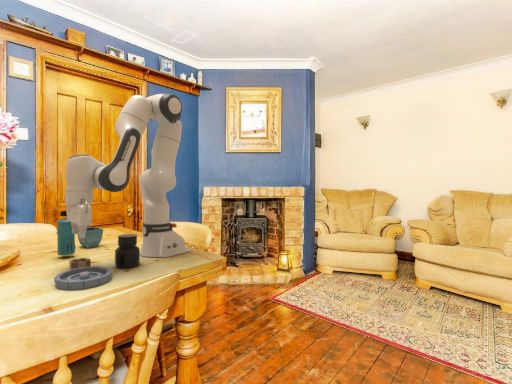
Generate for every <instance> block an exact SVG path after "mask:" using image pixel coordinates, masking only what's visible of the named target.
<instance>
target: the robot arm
mask: <svg viewBox="0 0 512 384" xmlns="http://www.w3.org/2000/svg"><path fill="white" fill-rule="evenodd" d="M182 111H183V105H182V102H181V99H180V97H179V96H178V95H176V94H173V93H157V94H153V95H147V96H143V95H139V94H134V95H132V96H131V97H130V98H129V99H128V100H127V102H126V103H125V104H124V105H123V107H122V109H121V110H120V113H119V114H118V115H117V119H116V121H115V125H114V131H115V133H116V134H117V136H118V138H119V143H118V147H117V149H116V152H115V154H114V157H113V159H112V160H111V162H109V163H108V164H106V163H103V162H102V161H99V160H97V159H96V158H94V157H93V155H90V154H78V155H76V154H75V155H72V156H70V157H68V159H67V161H66V167H65V181H66V186H65V190H64V198H63V199H64V204H65V207H66V209H65V211H66V212H67V216H66V218H67V219H68V221H70V222H71V225H72V233H73V234H75V235H78V233H79V238H85V233H86V230H87V228H88V227H91V226H92V222H93V215H92V214H93V213H92V212H93V211H92V206H91V204H93V203H94V189H95V188H96V189H99V190H103V191H108V192H111V193H117V192H121V191H124V190H125V188H126V187H128V185H129V183H130V178H131V177H130V173H131V166H132V163H133V161H134V158H135V156H136V152H137V150H138V147H139V146H140V145H139V144H140V141H141V139H142V136H143V134H144V133H145V130H146V128H147V126H148V124H149V122H150V121H156V122H157V130H156V134H155V135H154V136H155V137H154V140H153V144H152V148H151V152H150V156H151V164H150V165H151V166H150V168H148V169H145V170H144V171H143V172H142V173H141V174H140V176H139V178H138V182H139V186H140V190H141V191H140V192H141V196H142V202H143V222H142V244H141V248H140V257H146V258H147V257H148V258H169V257H172V256H177V255H181V254H184V253H185V254H186V253H189V252H191V248H190V247H188V246H186V242H185V239H184V237H183V235H181V234H179V233H177V231H174V230H173V229H176V228H177V227H178V224H177V223H172V222H170V204H169V202H168V199H167V193H168V192H170V191H172V190H174V188H175V187H176V185H177V178H176V160H177V156H178V155H177V154H178V151H179V147H180V143H181V137H182V131H183V130H182V129H183V128H182V127H183V125H182V122H181V121H180V119H181V118H182ZM126 189H127V188H126ZM79 229H80V230H79Z"/></svg>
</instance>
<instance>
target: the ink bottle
mask: <svg viewBox="0 0 512 384" xmlns="http://www.w3.org/2000/svg"><path fill="white" fill-rule="evenodd" d="M137 240H138V234H134V233H125V234H124V233H123V234H119V235H117V244H118V246H117V248H115V252H114V266H115V268H117V269H121V270H123V269H124V270H125V269H132V268H136V267H139V266H140V265H141V264H140V262H141V261H140V260H141V258H140V257H141V255H140V252H141V248H139V246H138V245H137V244H138V241H137Z"/></svg>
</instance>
